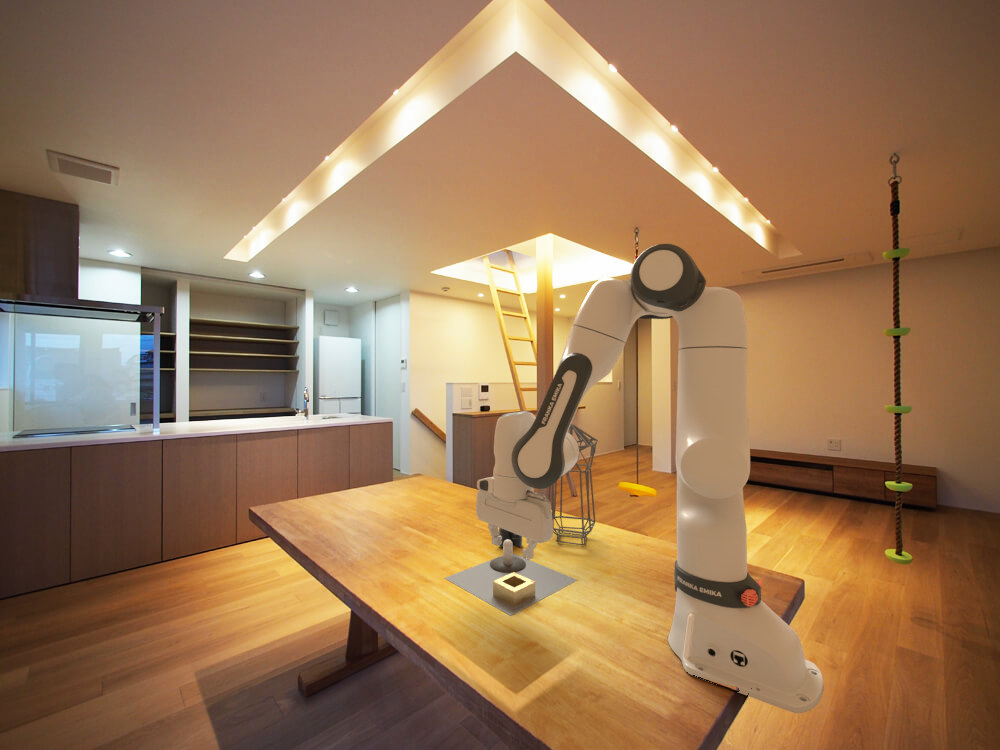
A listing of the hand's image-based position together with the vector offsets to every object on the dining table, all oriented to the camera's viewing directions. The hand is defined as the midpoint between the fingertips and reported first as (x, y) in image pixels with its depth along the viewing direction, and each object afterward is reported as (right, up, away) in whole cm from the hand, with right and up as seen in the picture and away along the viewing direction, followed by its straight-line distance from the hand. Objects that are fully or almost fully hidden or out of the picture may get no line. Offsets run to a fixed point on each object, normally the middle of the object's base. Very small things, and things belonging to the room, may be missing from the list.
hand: (511, 551), depth 89 cm
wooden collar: (+1, -9, -1) cm, 9 cm away
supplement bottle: (+1, -12, +31) cm, 33 cm away
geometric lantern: (+19, -12, +36) cm, 43 cm away
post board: (0, -11, +7) cm, 13 cm away
